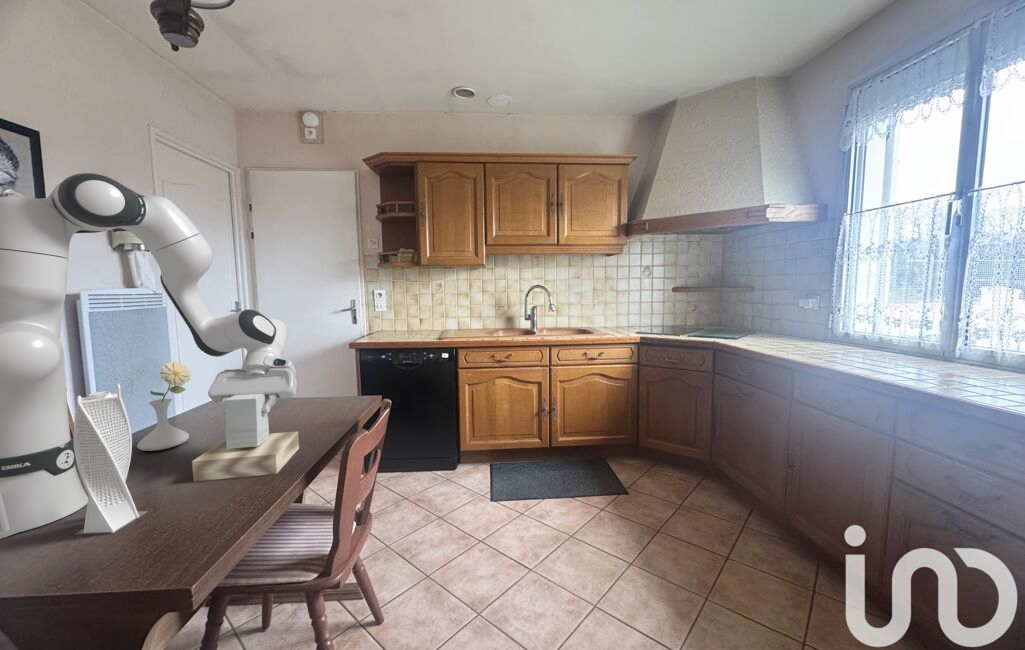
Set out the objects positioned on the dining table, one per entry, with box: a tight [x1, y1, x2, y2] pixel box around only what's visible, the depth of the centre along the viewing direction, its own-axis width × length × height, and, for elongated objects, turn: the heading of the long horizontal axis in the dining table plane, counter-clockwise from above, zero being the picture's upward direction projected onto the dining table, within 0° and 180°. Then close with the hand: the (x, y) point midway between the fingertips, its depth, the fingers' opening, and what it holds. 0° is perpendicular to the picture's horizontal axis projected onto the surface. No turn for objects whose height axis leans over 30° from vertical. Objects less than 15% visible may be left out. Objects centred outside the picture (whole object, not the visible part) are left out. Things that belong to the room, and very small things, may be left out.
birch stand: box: [191, 431, 300, 482], centre depth 100 cm, size 18×16×5 cm
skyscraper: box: [73, 383, 148, 535], centre depth 73 cm, size 8×8×28 cm
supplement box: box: [223, 394, 270, 449], centre depth 99 cm, size 7×7×13 cm
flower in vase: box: [136, 361, 192, 452], centre depth 112 cm, size 13×11×25 cm
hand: (246, 412), depth 99 cm, fingers closed on supplement box, 7 cm apart
